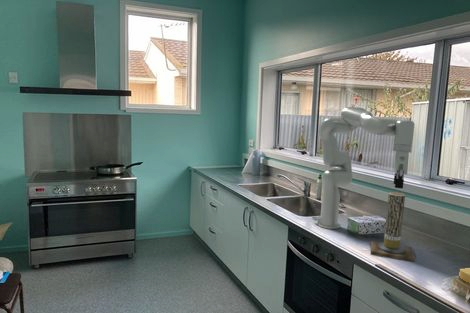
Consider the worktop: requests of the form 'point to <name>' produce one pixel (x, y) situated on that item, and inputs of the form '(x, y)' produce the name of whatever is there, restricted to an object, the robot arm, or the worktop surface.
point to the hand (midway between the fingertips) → (397, 186)
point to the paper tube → (394, 220)
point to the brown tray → (392, 251)
